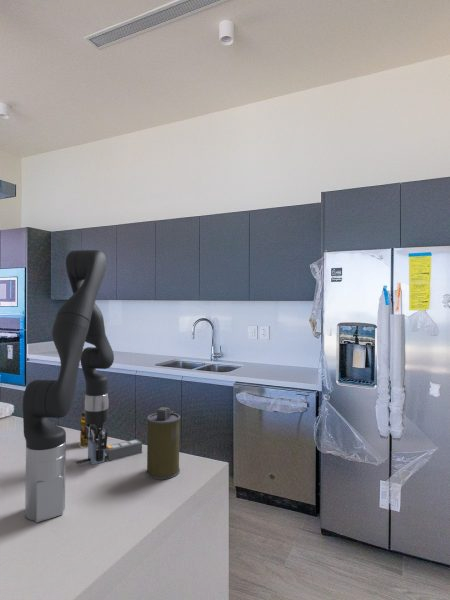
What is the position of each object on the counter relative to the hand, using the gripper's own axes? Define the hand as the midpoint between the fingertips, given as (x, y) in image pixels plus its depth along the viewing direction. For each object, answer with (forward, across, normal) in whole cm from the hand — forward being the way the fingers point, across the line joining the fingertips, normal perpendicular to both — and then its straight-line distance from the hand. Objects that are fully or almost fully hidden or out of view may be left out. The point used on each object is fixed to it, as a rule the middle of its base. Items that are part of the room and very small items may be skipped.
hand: (96, 457), depth 127 cm
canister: (+2, -20, -14) cm, 25 cm away
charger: (+1, 0, +2) cm, 2 cm away
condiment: (+2, +18, -4) cm, 18 cm away
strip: (+1, 0, -10) cm, 10 cm away
